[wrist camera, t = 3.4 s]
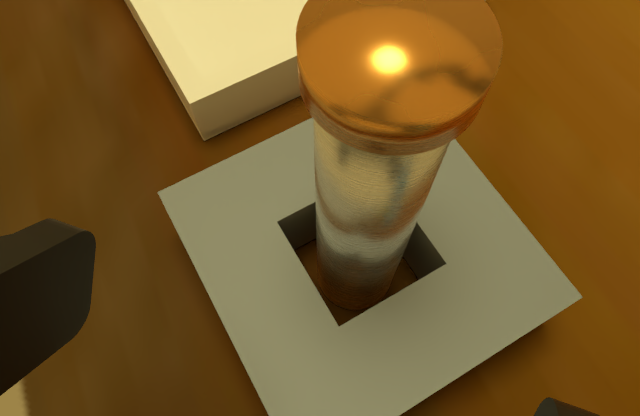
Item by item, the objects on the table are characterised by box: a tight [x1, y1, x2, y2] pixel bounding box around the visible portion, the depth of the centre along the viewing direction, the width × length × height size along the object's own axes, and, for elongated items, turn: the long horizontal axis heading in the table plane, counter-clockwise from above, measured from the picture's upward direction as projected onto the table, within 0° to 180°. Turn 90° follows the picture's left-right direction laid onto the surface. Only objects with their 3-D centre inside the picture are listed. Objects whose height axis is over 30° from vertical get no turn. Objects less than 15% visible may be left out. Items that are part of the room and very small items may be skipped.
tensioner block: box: [158, 118, 582, 416], centre depth 22 cm, size 12×12×4 cm
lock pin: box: [296, 0, 503, 310], centre depth 17 cm, size 4×4×15 cm
